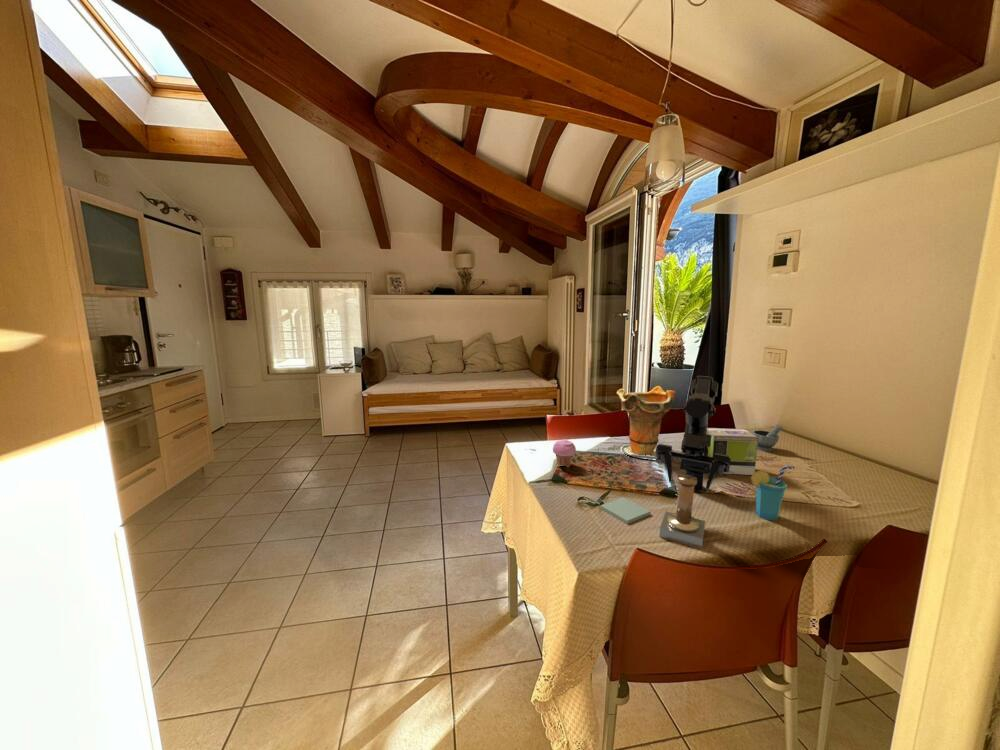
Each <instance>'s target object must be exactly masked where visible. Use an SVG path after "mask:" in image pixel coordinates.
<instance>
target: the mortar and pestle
mask: <svg viewBox="0 0 1000 750" xmlns="http://www.w3.org/2000/svg"><path fill="white" fill-rule="evenodd" d="M783 429H784V428H783V426H781V425H780V424H775V426H774V427H773V428H772V429H771V430H762V429H756V430H755V429H754V430H752V431H751V433H752V434H754V435H755V436H757V437H758V445H757V451H762V452H772V451H773V447H775V445H776V444H777V443H778V441H779V439H780V435H779V433H780V432H781V431H783Z"/></svg>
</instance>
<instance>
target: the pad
mask: <svg viewBox="0 0 1000 750" xmlns="http://www.w3.org/2000/svg"><path fill="white" fill-rule="evenodd" d="M599 508H600V510H601V511H603V512H605V513H607V514H608V515H610V516H612V517H614V518H616V519H618V520H619V521H621V522H623V523H624V524H626V525H628V524H631V523H633V522H635V521H638V520H641V519H643V518H645V517H648V516H650V515H651V513H652V511H651V510H649V509H647V508H645V507H643V506H641V505H640V504H638V503H635V501H631V500H630V499H628V498H625V497H619V498H617V499H614V500H611V501H610V502H605V503H603V504H600V507H599Z"/></svg>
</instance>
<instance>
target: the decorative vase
mask: <svg viewBox="0 0 1000 750" xmlns="http://www.w3.org/2000/svg"><path fill="white" fill-rule="evenodd" d="M676 394H677V392H676V391H675V390H671V389H669V390H664V389H663V388H662V386H660V385H657V386H654V387H653V388H652V389H651V390H650V391H645V392H643V391H642V392H640V391H639V392H635V391H634V392H633V391H632V392H626V390H625V389H624V388H619V389H617V391H616V395H617V396H618V397H619V402H620V405H621V407H622V410H623V411H625V412H628V414H629V415H628V416H629V417H628V418H629V435H628V439H629V444H630V445H623V446H621V447H619V448H620V451H621V453H622V454H624V453H625V454H629V455H631V454H633V453H634V454H638V455H645V456H646V455H650V456H655V457H657V456H656V447H657V445H658V444H659V441H660V440H659V436H660V431H661V423H662V418H663V417H664V415H665V414H666V413H667V412H669V411H670V410H671V408H672V406H673V403H674V397H675V395H676ZM625 454H624V455H625Z"/></svg>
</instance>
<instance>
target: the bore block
mask: <svg viewBox="0 0 1000 750" xmlns="http://www.w3.org/2000/svg"><path fill="white" fill-rule="evenodd" d="M670 514H674V513H673V512H670V511H665V512H664V515H663V518H662V521H661V525H660V527H659V534H658V535H659V537H658V538H661V539H664V540H665V539H666V540H668V541H673V542H677V543H680V544H684V545H687V546H692V547H695V548H699V549H703V542H704V536H705V527H706V520H703V519H699V518H695V519H696V520H698V522H699V529H698V530H697V531H695V532H684V531H680V530H677V529H675V528H673V527H672V526H670V525H669V524H668V516H669V515H670Z"/></svg>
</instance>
